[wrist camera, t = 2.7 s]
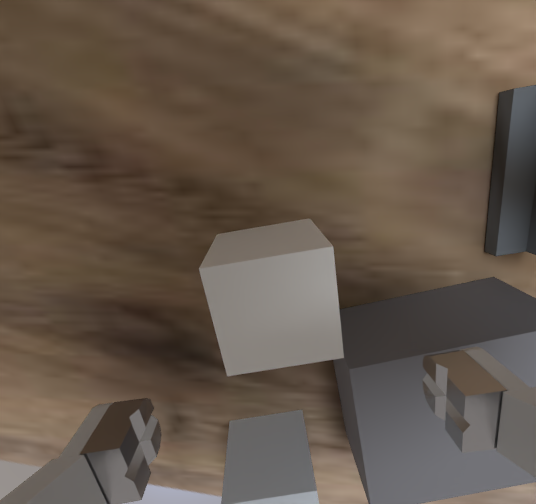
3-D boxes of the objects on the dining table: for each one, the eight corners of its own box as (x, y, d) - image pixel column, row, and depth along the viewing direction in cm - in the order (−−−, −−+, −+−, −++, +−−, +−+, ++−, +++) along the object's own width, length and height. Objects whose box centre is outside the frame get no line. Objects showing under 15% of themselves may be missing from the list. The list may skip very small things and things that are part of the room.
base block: (323, 310, 17) (349, 369, 12) (489, 275, 17) (581, 321, 12) (344, 429, 20) (371, 512, 16) (484, 401, 20) (555, 478, 15)
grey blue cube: (229, 419, 19) (221, 505, 15) (302, 408, 19) (316, 490, 15) (243, 470, 21) (239, 561, 16) (310, 459, 21) (325, 548, 16)
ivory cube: (217, 233, 15) (198, 269, 10) (309, 217, 15) (333, 246, 10) (235, 314, 17) (227, 376, 12) (319, 300, 17) (343, 357, 12)
